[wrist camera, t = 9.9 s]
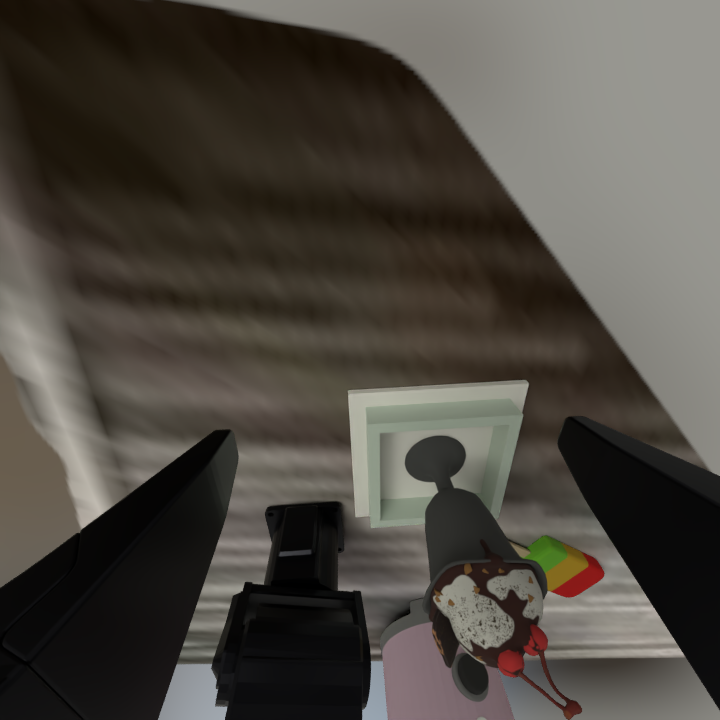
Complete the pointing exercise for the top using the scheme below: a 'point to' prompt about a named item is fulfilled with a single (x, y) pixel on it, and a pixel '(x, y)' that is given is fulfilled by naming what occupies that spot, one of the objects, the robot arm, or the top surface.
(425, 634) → the blender
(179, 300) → the top surface
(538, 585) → the sundae
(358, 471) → the holder cell
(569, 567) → the popsicle
